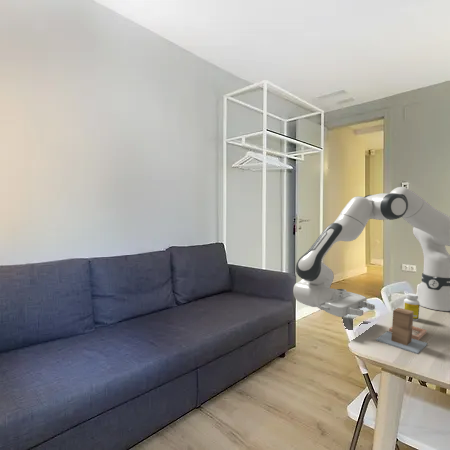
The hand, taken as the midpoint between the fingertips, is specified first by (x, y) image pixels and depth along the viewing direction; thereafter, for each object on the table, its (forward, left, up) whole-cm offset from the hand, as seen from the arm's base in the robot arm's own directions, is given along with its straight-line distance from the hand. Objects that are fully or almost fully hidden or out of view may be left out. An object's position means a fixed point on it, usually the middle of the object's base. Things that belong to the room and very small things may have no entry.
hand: (368, 310), depth 108 cm
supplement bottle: (-27, +5, -8) cm, 29 cm away
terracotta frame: (-11, +9, -8) cm, 16 cm away
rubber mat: (0, +11, -8) cm, 13 cm away
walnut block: (0, +11, -7) cm, 13 cm away
